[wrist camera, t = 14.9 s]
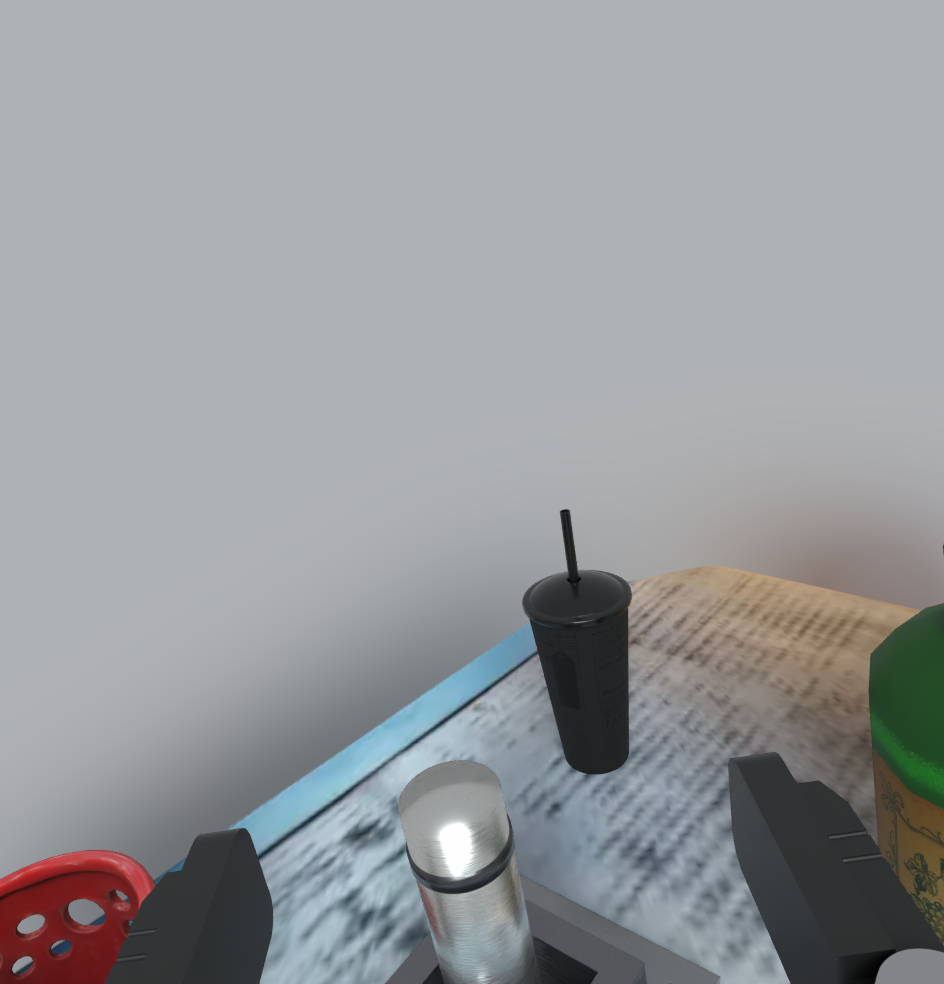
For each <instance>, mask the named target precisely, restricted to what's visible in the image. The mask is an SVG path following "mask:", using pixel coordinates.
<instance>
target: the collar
mask: <svg viewBox="0 0 944 984" xmlns="http://www.w3.org/2000/svg"><path fill="white" fill-rule="evenodd" d="M519 876H520V881H521V886H522V891H523V896H524V901H525V906H526V910H527V915H528V920H529V925H530V930H531V935H532V940H533V944H534V949H535V954H536V959H537V964H538V969H539V974H540V979H541V983H542V984H720V976H718V975H716V974H714V973H712V972H710V971H708V970H706V969H704V968H702V967H700V966H698V965H696V964H694V963H692V962H690V961H688V960H686V959H684V958H682V957H680V956H678V955H676V954H674V953H672V952H670V951H668V950H666V949H665V948H663V947H661V946H659V945H657V944H655V943H653V942H651V941H649V940H647V939H645V938H643V937H641V936H639V935H637V934H635V933H633V932H631V931H629V930H627V929H625V928H623V927H621V926H619V925H617V924H615V923H613V922H611V921H610V920H608V919H606V918H604V917H602V916H600V915H598V914H596V913H594V912H592V911H590V910H588V909H586V908H584V907H582V906H580V905H578V904H576V903H574V902H572V901H570V900H568V899H566V898H564V897H562V896H560V895H558V894H556V893H555V892H553V891H551V890H549V889H547V888H545V887H543V886H541V885H539V884H537V883H535V882H533V881H531V880H529V879H527V878H525V877H523V876H521V875H519ZM385 984H444V981H443V977H442V973H441V970H440V966H439V962H438V958H437V955H436V951H435V947H434V943H433V940H432V936H431V932H430V933H429V934H428V935H427V936H426V937H425V938H424V939H423V941H422V942H421V943H420V944H419V945H418V946H417V948H416V949H415V950H414V951H413V952H412V953H411V954H410V956H409V957H408V958H407V959H406V960H405V961H404V962H403V964H402V965H401V966H400V967H399V968H398V969H397V970H396V972H395V973H394V974H393V975H392V976H391V977H390V979H389V980H388V981H387V982H386V983H385Z"/></svg>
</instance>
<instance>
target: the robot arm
mask: <svg viewBox="0 0 944 984" xmlns="http://www.w3.org/2000/svg"><path fill="white" fill-rule="evenodd" d="M728 770H729V786H730V801H731V817H732V831H733V839H734V844H735V849H736V853H737V857H738V860H739V863H740V867H741V869H742V872H743V875H744V877H745V879H746V882H747V884H748V886H749V889H750V891H751V893H752V895H753V898H754V900H755V902H756V905H757V907H758V909H759V912H760V914H761V916H762V919H763V921H764V923H765V925H766V928H767V930H768V932H769V935H770V937H771V939H772V942H773V944H774V946H775V949H776V951H777V953H778V955H779V958H780V960H781V962H782V965H783V967H784V969H785V972H786V974H787V976H788V978H789V981H790V983H791V984H944V946H943V944H942V943H941V941H940V940H939V938H938V937H937V935H936V934H935V932H934V931H933V929H932V928H931V926H930V925H929V923H928V922H927V920H926V919H925V917H924V916H923V914H922V913H921V911H920V910H919V908H918V907H917V905H916V904H915V902H914V901H913V899H912V898H911V896H910V895H909V893H908V892H907V890H906V889H905V887H904V886H903V884H902V883H901V881H900V880H899V878H898V877H897V875H896V874H895V872H894V871H893V869H892V868H891V866H890V865H889V863H888V862H887V860H886V859H885V858H884V859H883V857H882V854H881V851H880V850H879V848H878V847H877V845H876V844H875V842H874V841H873V839H872V838H871V836H870V835H867V832H866V829H865V827H864V826H863V824H862V823H861V821H860V820H859V818H858V817H857V815H856V814H855V812H854V811H853V809H852V808H851V806H850V805H849V803H848V802H847V801H845V800H844V799H843V798H841V797H840V796H839V795H837V794H836V793H835V792H833V791H832V790H831V789H829V788H828V787H827V786H825V785H824V784H823V783H821V782H820V781H813V782H806V783H799V784H797V783H796V781H795V780H794V778H793V776H792V775H791V773H790V771H789V770H788V768H787V766H786V765H785V763H784V761H783V760H782V758H781V757H780V755H779V754H778V753H776V752H772V753H765V754H758V755H751V756H745V757H738V758H731V759H730V760H729V764H728ZM272 928H273V908H272V901H271V896H270V893H269V890H268V887H267V884H266V881H265V878H264V875H263V872H262V869H261V866H260V863H259V860H258V857H257V854H256V851H255V848H254V845H253V842H252V839H251V836H250V834H249V832H248V831H247V830H246V829H245V828H240V829H233V830H227V831H220V832H213V833H206V834H201V835H199V836H198V837H196V839H195V840H194V842H193V845H192V847H191V849H190V851H189V854H188V856H187V858H186V861H185V863H184V865H183V868H182V870H181V871H177V872H170V873H167V874H166V875H165V876H164V877H163V878H162V879H161V880H160V882H159V883H158V884H157V885H156V886H155V887H154V888H153V890H152V891H151V892H150V893H149V894H148V895H147V897H146V898H145V899H144V900H143V901H142V903H141V905H140V908H139V910H138V912H137V914H136V916H135V918H134V920H133V923H132V925H131V927H130V929H129V931H128V933H129V935H128V938H125V940H124V942H123V944H122V946H121V949H120V951H119V953H118V955H117V957H116V958H117V962H116V964H113V966H112V968H111V970H110V972H109V974H108V977H107V979H106V981H105V983H104V984H259V982H260V979H261V975H262V971H263V967H264V963H265V959H266V956H267V952H268V948H269V944H270V940H271V935H272Z"/></svg>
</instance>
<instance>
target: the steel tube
mask: <svg viewBox="0 0 944 984" xmlns="http://www.w3.org/2000/svg"><path fill="white" fill-rule="evenodd" d="M398 811H399V816H400V819H401V823H402V827H403V831H404V834H405V838H406V851H407V855H408V859H409V862H410V866H411V870H412V872H413V874H414V876H415V878H416V880H417V883H418V887H419V891H420V895H421V898H422V902H423V906H424V910H425V913H426V917H427V921H428V925H429V928H430V932H431V936H432V940H433V943H434V947H435V951H436V955H437V958H438V962H439V966H440V970H441V973H442V977H443V981H444V984H542V983H541V979H540V974H539V969H538V964H537V959H536V954H535V949H534V944H533V940H532V935H531V930H530V925H529V920H528V915H527V910H526V906H525V901H524V896H523V891H522V886H521V881H520V876H519V872H518V867H517V862H516V857H515V852H514V844H515V843H514V836H513V831H512V826H511V822H510V819H509V816H508V814H507V813H506V808H505V803H504V799H503V794H502V789H501V784H500V781H499V779H498V777H497V776H496V774H495V773H494V772H493V771H492V770H491V769H489V768H488V767H486V766H484V765H482V764H480V763H477V762H472V761H462V760H458V761H449V762H444V763H440V764H437V765H435V766H432V767H430V768H428V769H426V770H424V771H422V772H421V773H419V774H418V775H417V776H415V777H414V778H413V779H412V780H411V781H410V782H409V783H408V784H407V786H406V787H405V788H404V790H403V792H402V793H401V796H400V799H399V803H398Z"/></svg>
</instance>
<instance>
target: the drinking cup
mask: <svg viewBox="0 0 944 984" xmlns="http://www.w3.org/2000/svg"><path fill="white" fill-rule="evenodd" d="M560 517H561V523H562V531H563V539H564V546H565V553H566V560H567V567H568V571H567V572H563V573H558V574H555V575H552V576H549V577H546V578H544V579H542V580H540V581H538V582H537V583H535V584H534V585H532V586H531V587H530V588H529V589H528V590H527V591H526V593H525V594H524V596H523V601H522V604H523V609H524V612H525V614H526V615H527V616H528V617H529V619H530V623H531V627H532V630H533V634H534V638H535V642H536V646H537V650H538V653H539V657H540V661H541V665H542V669H543V673H544V677H545V680H546V684H547V688H548V692H549V696H550V700H551V704H552V707H553V711H554V715H555V719H556V723H557V727H558V730H559V734H560V738H561V742H562V746H563V750H564V754H565V757H566V760H567V762H568V763H569V764H570V765H571V766H572V767H573V768H574V769H576V770H578V771H580V772H583V773H587V774H604V773H608V772H611V771H614V770H616V769H617V768H619V767H620V766H622V765H623V764H624V762H625V761H626V760H627V757H628V754H629V699H628V607H629V605H630V603H631V599H632V593H631V588H630V586H629V585H628V583H627V582H626V581H625V580H624V579H622V578H621V577H619V576H617V575H614V574H611V573H608V572H603V571H596V570H578V569H577V561H576V554H575V546H574V540H573V531H572V524H571V516H570V510H567V509H565V510H561V511H560Z"/></svg>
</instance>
